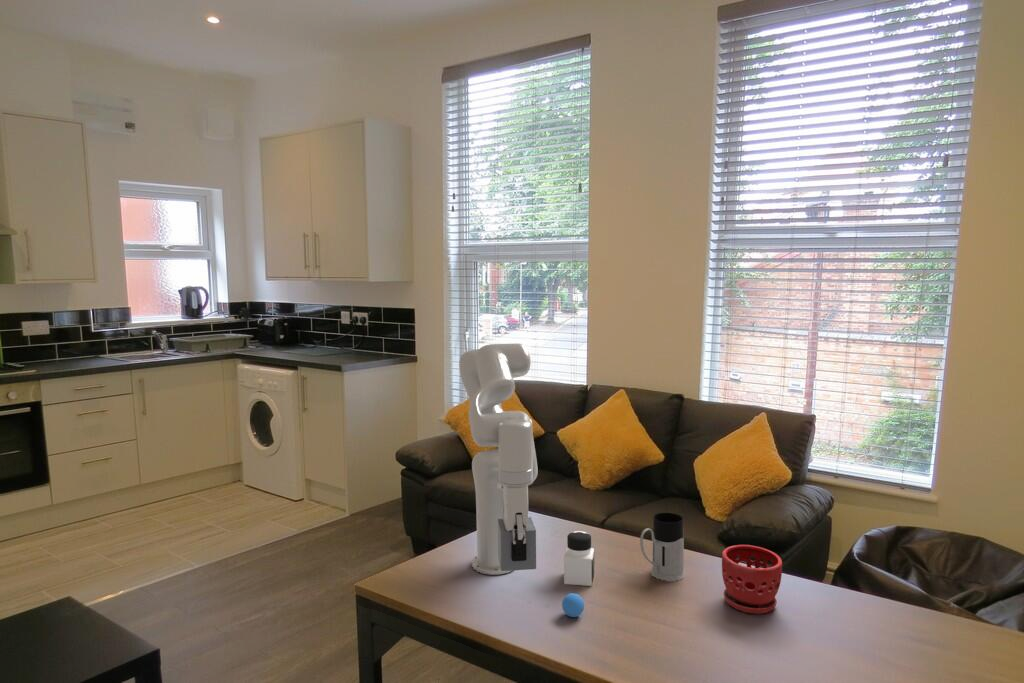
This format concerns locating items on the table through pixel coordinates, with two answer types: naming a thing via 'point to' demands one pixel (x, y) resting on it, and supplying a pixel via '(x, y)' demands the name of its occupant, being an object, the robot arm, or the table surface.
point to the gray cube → (506, 551)
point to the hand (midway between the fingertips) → (516, 551)
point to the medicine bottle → (579, 559)
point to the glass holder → (667, 546)
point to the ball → (573, 605)
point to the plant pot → (751, 578)
